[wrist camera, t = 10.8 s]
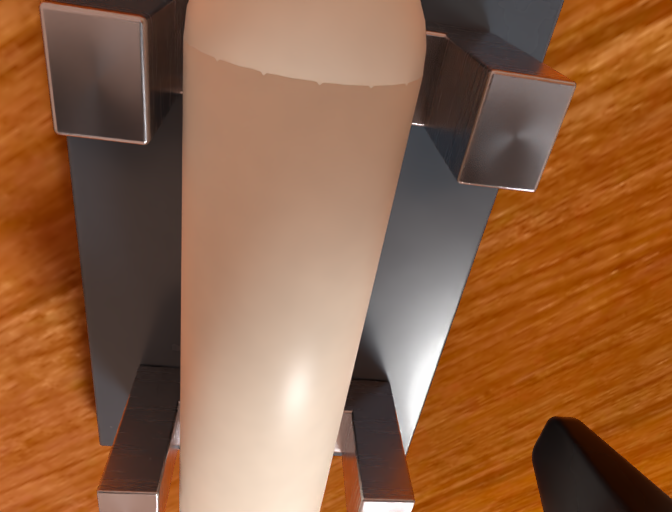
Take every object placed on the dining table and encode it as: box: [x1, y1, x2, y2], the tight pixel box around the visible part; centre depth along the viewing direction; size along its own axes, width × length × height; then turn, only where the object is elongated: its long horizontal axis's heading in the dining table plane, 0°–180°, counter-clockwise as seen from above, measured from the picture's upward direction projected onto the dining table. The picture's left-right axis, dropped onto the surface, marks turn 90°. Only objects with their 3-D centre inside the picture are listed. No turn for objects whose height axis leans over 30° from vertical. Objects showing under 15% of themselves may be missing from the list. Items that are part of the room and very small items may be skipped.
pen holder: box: [39, 0, 576, 512], centre depth 11 cm, size 14×9×4 cm, turn 171°
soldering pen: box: [179, 0, 426, 512], centre depth 9 cm, size 19×3×3 cm, turn 171°
